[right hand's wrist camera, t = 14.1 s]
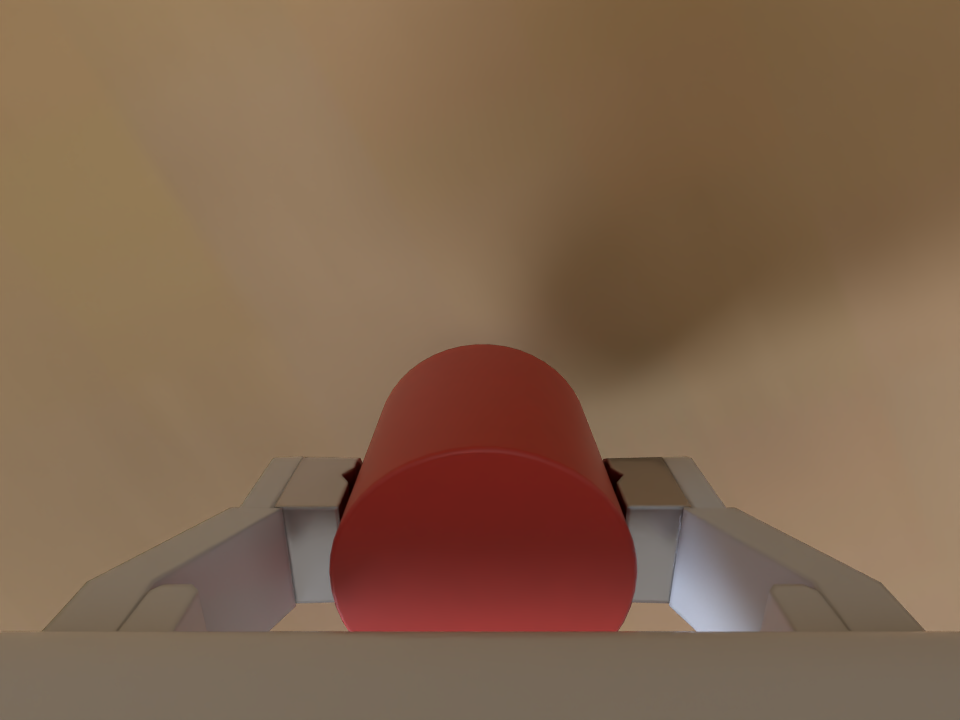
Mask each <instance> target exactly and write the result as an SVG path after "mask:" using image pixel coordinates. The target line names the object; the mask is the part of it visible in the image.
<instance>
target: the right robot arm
mask: <svg viewBox="0 0 960 720" xmlns="http://www.w3.org/2000/svg"><path fill="white" fill-rule="evenodd" d="M603 463H604V466H605V469H606V471H607V474H608V476H609V479H610V481H611V484H612V487H613V489H614V492H615V494H616V497H617V500H618V502H619V505H620V507H621V510H622V513H623V515H624V518H625V520H626V523H627V525H628V528H629V531H630V533H631V536H632V538H633V542H634V546H635V551H636V556H637V581H636V589H635V593H634V597H633V600H632V602H641V603H669V606H670V607H671V608H672V609H673V610H674V611H676V612H677V613H678V614H679V615H680V616H681V617H682V618H683V619H684V620H685V621H686V622H687V623H688V624H690V625H691V626H692V627H693V628H694V629H695V630H696V631H573V632H483V631H482V632H479V631H270V630H271V629H272V628H273V627H274V626H275V625H276V624H277V623H278V622H279V621H280V620H281V619H282V618H284V617H285V616H286V615H287V614H288V613H289V612H290V611H291V610H292V609H293V608H294V607H295V606H296V604H295V603H323V602H335V601H334V598H333V594H332V590H331V584H330V575H329V566H330V554H331V549H332V544H333V540H334V537H335V534H336V532H337V529H338V527H339V524H340V521H341V519H342V516H343V513H344V511H345V508H346V505H347V503H348V500H349V498H350V495H351V492H352V490H353V487H354V484H355V482H356V479H357V477H358V474H359V471H360V469H361V466H362V461H361V459H360V458H331V457H305V458H304V457H303V456H301V457H276V458H273V459H272V460H271V462H270V463H269V465H268V466H267V468H266V469H265V471H264V472H263V474H262V475H261V477H260V478H259V479H258V481H257V482H256V484H255V485H254V487H253V488H252V490H251V491H250V493H249V494H248V496H247V497H246V499H245V500H244V502H243V503H242V505H241V506H240V507H239V508H229V509H227V510H225V511H223V512H221V513H219V514H217V515H215V516H214V517H212V518H210V519H208V520H206V521H204V522H202V523H200V524H198V525H196V526H194V527H192V528H190V529H188V530H186V531H184V532H183V533H181V534H179V535H177V536H175V537H173V538H171V539H169V540H167V541H165V542H163V543H161V544H159V545H157V546H155V547H154V548H152V549H150V550H148V551H146V552H144V553H142V554H140V555H138V556H136V557H134V558H132V559H130V560H128V561H126V562H125V563H123V564H121V565H119V566H117V567H115V568H113V569H111V570H109V571H107V572H105V573H103V574H101V575H99V576H97V577H95V578H94V579H92V580H90V581H88V582H86V584H85V585H84V586H83V587H82V588H81V589H80V590H79V591H78V592H77V593H76V594H75V596H74V597H73V598H72V599H71V600H70V601H69V602H68V603H67V604H66V605H65V607H64V608H63V609H62V610H61V611H60V612H59V613H58V614H57V615H56V616H55V617H54V619H53V620H52V621H51V622H50V623H49V624H48V625H47V626H46V627H45V628H44V630H43V631H0V720H960V632H945V631H925V630H924V629H923V628H922V627H921V626H920V624H919V623H918V622H917V621H916V620H915V619H914V618H913V617H912V616H911V615H910V614H909V613H908V611H907V610H906V609H905V608H904V607H903V606H902V605H901V604H900V603H899V602H898V601H897V600H896V598H895V597H894V596H893V595H892V594H891V593H890V592H889V591H888V590H887V589H886V588H885V587H884V585H883V584H882V583H881V582H879V581H877V580H875V579H873V578H871V577H869V576H867V575H865V574H863V573H861V572H859V571H857V570H855V569H853V568H851V567H849V566H847V565H846V564H844V563H842V562H840V561H838V560H836V559H834V558H832V557H830V556H828V555H826V554H824V553H822V552H820V551H818V550H816V549H814V548H812V547H811V546H809V545H807V544H805V543H803V542H801V541H799V540H797V539H795V538H793V537H791V536H789V535H787V534H785V533H783V532H781V531H779V530H777V529H775V528H774V527H772V526H770V525H768V524H766V523H764V522H762V521H760V520H758V519H756V518H754V517H752V516H750V515H748V514H746V513H744V512H742V511H740V510H738V509H737V508H726V507H725V505H724V504H723V503H722V501H721V500H720V498H719V497H718V495H717V494H716V493H715V491H714V490H713V488H712V487H711V485H710V484H709V483H708V481H707V480H706V478H705V477H704V475H703V474H702V473H701V471H700V470H699V468H698V467H697V465H696V464H695V463H694V461H693V460H692V458H689V457H687V456H683V457H646V458H607V459H603Z"/></svg>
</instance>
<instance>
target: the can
mask: <svg viewBox="0 0 960 720" xmlns="http://www.w3.org/2000/svg"><path fill="white" fill-rule="evenodd" d="M329 575H330V584H331V590H332V594H333V598H334V601H335V605H336V608H337V610H338V612H339V614H340V617H341V619H342V621H343V623H344V624H345V626H346V627H347V629H348V631H479V632H482V631H483V632H573V631H618V630H619V629H620V627H621V626H622V624H623V622H624V620H625V618H626V616H627V614H628V612H629V609H630V607H631V604H632V600H633V597H634V593H635V589H636V581H637V556H636V551H635V546H634V542H633V538H632V536H631V533H630V531H629V528H628V525H627V523H626V520H625V518H624V515H623V513H622V510H621V507H620V505H619V502H618V500H617V497H616V494H615V492H614V489H613V487H612V484H611V481H610V479H609V476H608V474H607V471H606V469H605V466H604V463H603V461H602V458H601V456H600V453H599V450H598V448H597V445H596V443H595V440H594V438H593V435H592V432H591V430H590V427H589V425H588V422H587V419H586V417H585V414H584V412H583V409H582V407H581V404H580V401H579V400H578V398H577V396H576V394H575V392H574V391H573V389H572V388H571V387H570V385H569V384H568V383H567V381H566V380H565V379H564V378H563V377H562V376H561V375H560V374H559V373H558V372H557V371H556V370H554V369H553V368H552V367H550V366H549V365H548V364H546V363H545V362H543V361H542V360H540V359H538V358H536V357H534V356H533V355H530V354H528V353H525V352H523V351H520V350H517V349H513V348H509V347H505V346H498V345H468V346H460V347H456V348H452V349H448V350H445V351H443V352H440V353H438V354H435V355H433V356H431V357H429V358H428V359H426V360H424V361H422V362H421V363H419V364H418V365H417V366H415V367H414V368H413V369H411V370H410V371H409V372H408V373H407V374H406V375H405V376H404V377H403V378H402V379H401V380H400V381H399V382H398V384H397V385H396V386H395V387H394V389H393V390H392V392H391V394H390V395H389V397H388V399H387V401H386V403H385V406H384V408H383V411H382V413H381V416H380V419H379V421H378V424H377V426H376V429H375V432H374V434H373V437H372V440H371V442H370V445H369V448H368V450H367V453H366V455H365V458H364V461H363V463H362V466H361V469H360V471H359V474H358V477H357V479H356V482H355V484H354V487H353V490H352V492H351V495H350V498H349V500H348V503H347V505H346V508H345V511H344V513H343V516H342V519H341V521H340V524H339V527H338V529H337V532H336V534H335V537H334V540H333V544H332V549H331V554H330V566H329Z"/></svg>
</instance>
